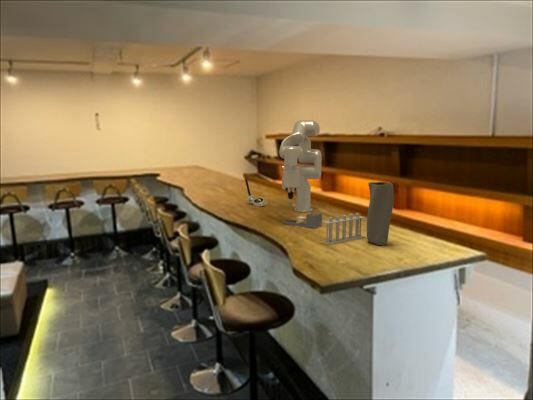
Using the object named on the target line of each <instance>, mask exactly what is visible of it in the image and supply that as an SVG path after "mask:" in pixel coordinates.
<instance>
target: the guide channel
mask: <svg viewBox="0 0 533 400" xmlns="http://www.w3.org/2000/svg"><path fill="white" fill-rule="evenodd" d="M281 222H282V225H286V226H287V225H288V226H296V227H302V228H306V224H300V223H296V219H294V220H293V219H287V220H286V221H284V220H282V221H281Z"/></svg>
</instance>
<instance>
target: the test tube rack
mask: <svg viewBox="0 0 533 400" xmlns="http://www.w3.org/2000/svg"><path fill="white" fill-rule="evenodd" d="M348 215H349V217H347V215H346V214H343V215H342V218H340V215H336V216H335V219H333V217H332V216H329V219H328V220H324V221H323V220H322V224H323V223H324V224H325V225H326V229H325V230H326V231H325V233H326V237H325V238H326V239H325V240H324V241H323V240H322V242H321V243H322V244H324V245H326V246H329V245H333V244H339V243H344V242H346V243H347V242H350V241H355V240H359V239H360V240H361V239H365V238H366V236H365V235H362V219H366V217H365V216H362V215H360V213H359V212H355V216H354V214H353V213H350V214H348ZM354 221H355V225H354V226H355V229H354V230H355V233H354V235H353V224H354V223H353V222H354ZM347 222H348V236H346V235H347ZM340 223H342V228H341V229H342V234H341V236H342V237H340ZM333 224H335V238H334V239H333Z"/></svg>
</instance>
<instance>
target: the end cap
mask: <svg viewBox="0 0 533 400" xmlns="http://www.w3.org/2000/svg"><path fill="white" fill-rule="evenodd" d="M305 217H306V227H305V228H307V229H314V230H317V229H319V228H320V227H322V226H323V225H322V224H323V220H322V219H323V213H320V212H311V213H310V212H309V213H308V214H306V216H305Z"/></svg>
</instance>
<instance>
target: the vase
mask: <svg viewBox="0 0 533 400" xmlns="http://www.w3.org/2000/svg"><path fill="white" fill-rule="evenodd" d="M367 184H368V189H369V204H368V210H367V216H366V239H367V241H368V242H369V243H371V244H374V245H378V246H386V245H387V243H388V241H389V240H388V239H389V232H390V225H391V219H392V213H393V209H394V202H395V201H394V200H395V194H394V193H395V192H394V191H395V190H394V184H393V183H391V182H387V181H376V182H375V181H371V182H368V183H367ZM385 244H386V245H385Z"/></svg>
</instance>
